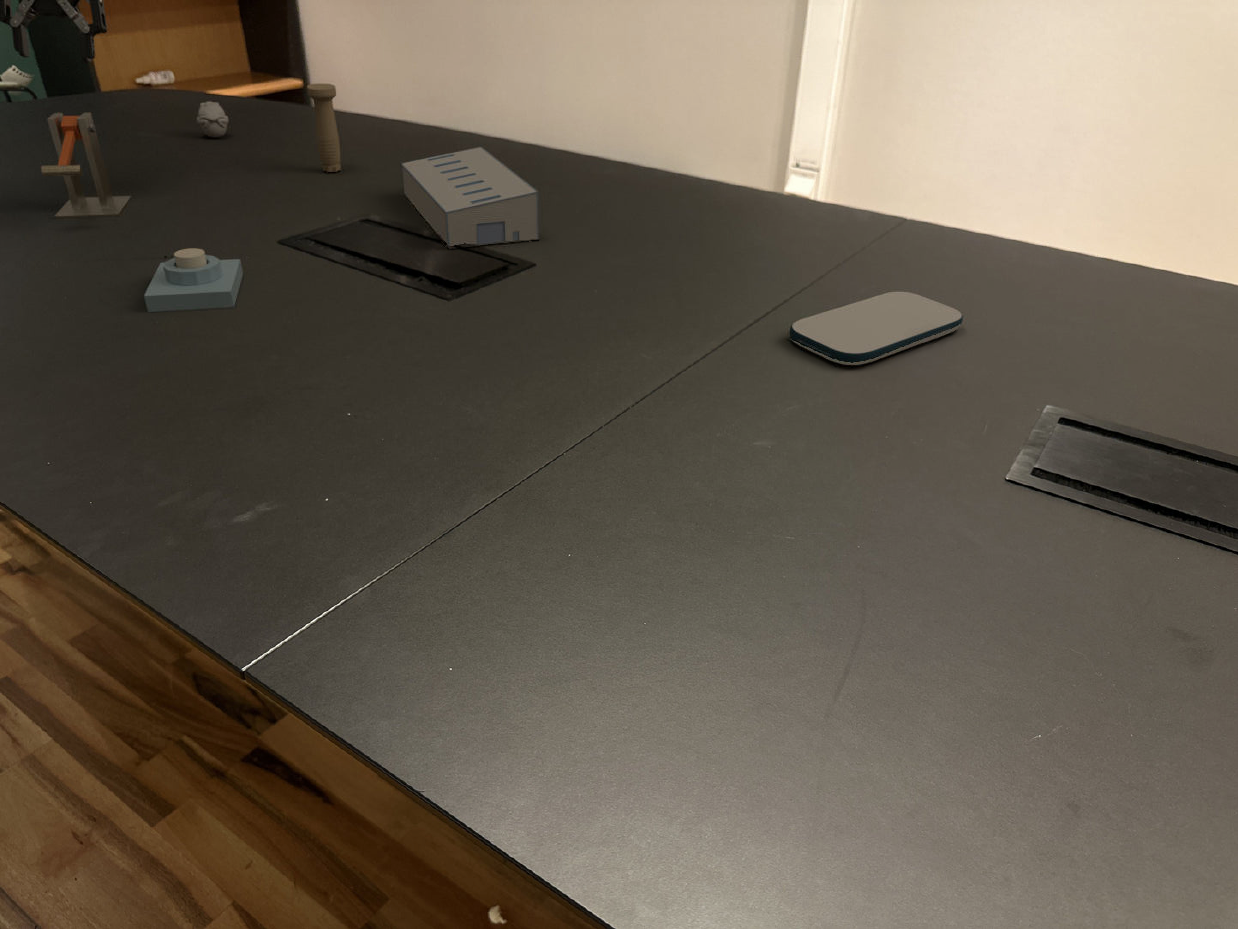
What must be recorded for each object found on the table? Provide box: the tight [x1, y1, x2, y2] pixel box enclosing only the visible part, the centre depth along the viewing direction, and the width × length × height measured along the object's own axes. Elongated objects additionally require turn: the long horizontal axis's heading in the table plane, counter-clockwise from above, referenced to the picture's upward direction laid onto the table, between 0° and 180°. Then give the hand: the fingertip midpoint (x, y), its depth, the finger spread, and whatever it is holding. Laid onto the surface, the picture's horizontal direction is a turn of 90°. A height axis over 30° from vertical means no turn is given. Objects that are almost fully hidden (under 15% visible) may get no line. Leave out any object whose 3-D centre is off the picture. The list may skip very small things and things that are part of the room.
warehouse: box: [400, 146, 540, 246], centre depth 147 cm, size 30×14×8 cm, turn 24°
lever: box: [40, 115, 84, 177], centre depth 134 cm, size 13×5×2 cm, turn 14°
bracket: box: [46, 112, 132, 220], centre depth 140 cm, size 10×9×15 cm
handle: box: [306, 83, 342, 173], centre depth 166 cm, size 5×6×15 cm
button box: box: [143, 254, 244, 313], centre depth 116 cm, size 12×10×4 cm
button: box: [173, 247, 207, 269], centre depth 115 cm, size 4×4×2 cm
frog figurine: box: [196, 100, 229, 139], centre depth 188 cm, size 6×7×7 cm
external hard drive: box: [788, 290, 964, 363], centre depth 113 cm, size 24×12×2 cm, turn 127°
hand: (56, 59), depth 136 cm, fingers open, 8 cm apart
